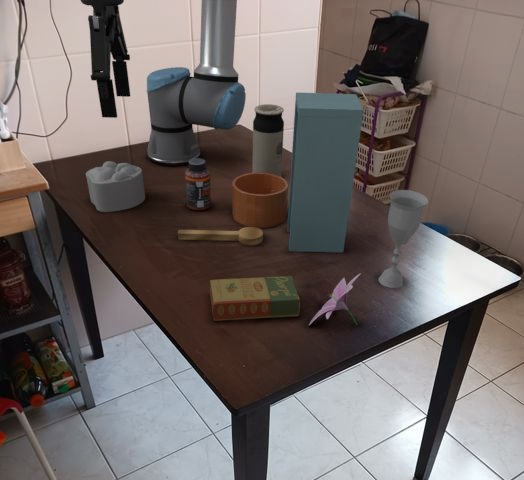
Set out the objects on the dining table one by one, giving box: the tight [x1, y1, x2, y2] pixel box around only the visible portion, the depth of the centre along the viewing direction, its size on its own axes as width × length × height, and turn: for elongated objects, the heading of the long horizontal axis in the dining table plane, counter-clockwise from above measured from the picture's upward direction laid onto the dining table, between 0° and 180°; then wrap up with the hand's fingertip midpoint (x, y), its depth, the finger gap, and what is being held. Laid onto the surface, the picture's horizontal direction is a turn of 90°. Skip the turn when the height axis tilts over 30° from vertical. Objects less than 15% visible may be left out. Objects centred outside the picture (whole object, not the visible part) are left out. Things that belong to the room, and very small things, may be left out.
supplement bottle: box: [184, 158, 212, 211], centre depth 131 cm, size 6×6×11 cm
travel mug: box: [251, 103, 285, 177], centre depth 143 cm, size 8×8×18 cm
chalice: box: [378, 189, 429, 289], centre depth 105 cm, size 7×7×18 cm
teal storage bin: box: [286, 92, 365, 253], centre depth 113 cm, size 10×12×30 cm
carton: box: [209, 275, 301, 322], centre depth 101 cm, size 8×16×4 cm, turn 98°
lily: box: [308, 272, 362, 326], centre depth 98 cm, size 12×12×10 cm
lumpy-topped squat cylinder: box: [85, 160, 146, 213], centre depth 133 cm, size 10×13×9 cm
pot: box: [231, 172, 289, 229], centre depth 129 cm, size 13×13×8 cm
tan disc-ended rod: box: [177, 226, 264, 246], centre depth 122 cm, size 19×6×2 cm, turn 90°
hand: (117, 106), depth 108 cm, fingers open, 13 cm apart
